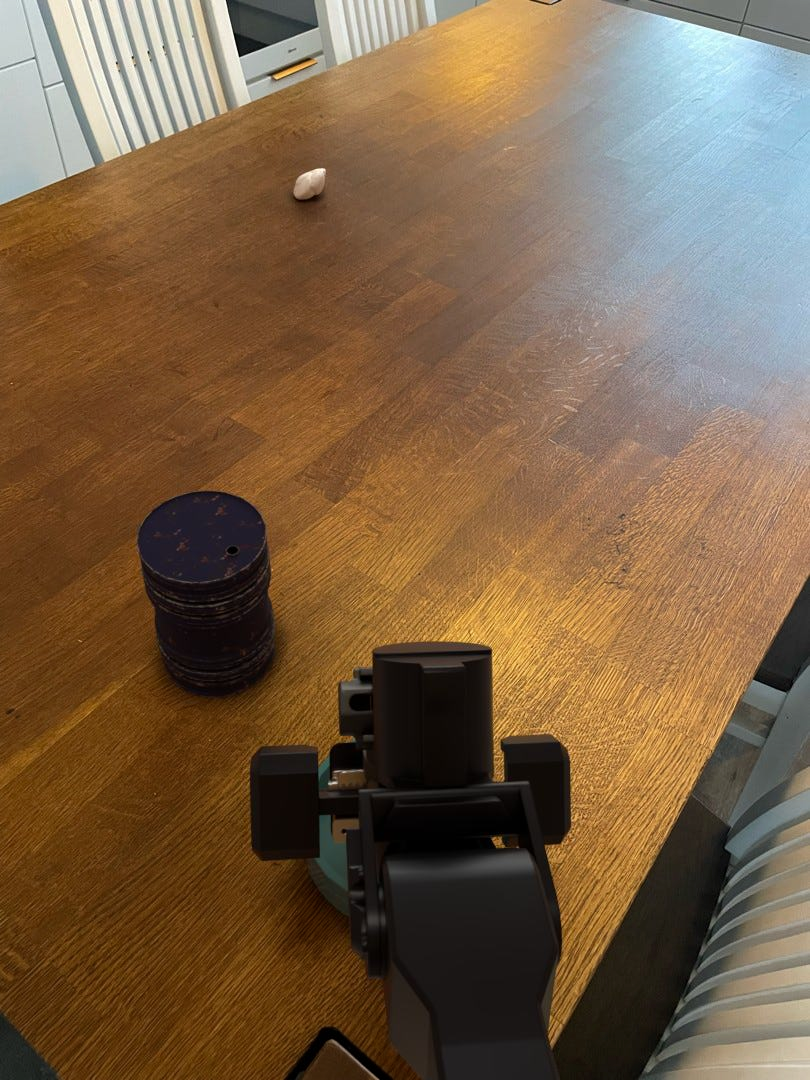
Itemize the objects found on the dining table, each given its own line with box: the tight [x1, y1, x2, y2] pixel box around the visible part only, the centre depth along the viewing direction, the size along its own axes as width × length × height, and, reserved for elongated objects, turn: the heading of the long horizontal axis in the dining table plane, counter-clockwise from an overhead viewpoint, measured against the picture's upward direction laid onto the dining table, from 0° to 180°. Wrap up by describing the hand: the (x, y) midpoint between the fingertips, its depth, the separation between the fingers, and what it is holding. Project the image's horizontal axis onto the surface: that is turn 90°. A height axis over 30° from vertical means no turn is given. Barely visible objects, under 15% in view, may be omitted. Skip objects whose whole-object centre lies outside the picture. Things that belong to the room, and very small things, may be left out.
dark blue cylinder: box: [136, 489, 276, 699], centre depth 73 cm, size 10×10×15 cm
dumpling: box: [293, 168, 327, 200], centre depth 137 cm, size 7×5×4 cm
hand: (397, 758), depth 61 cm, fingers closed on fennel bulb, 2 cm apart
